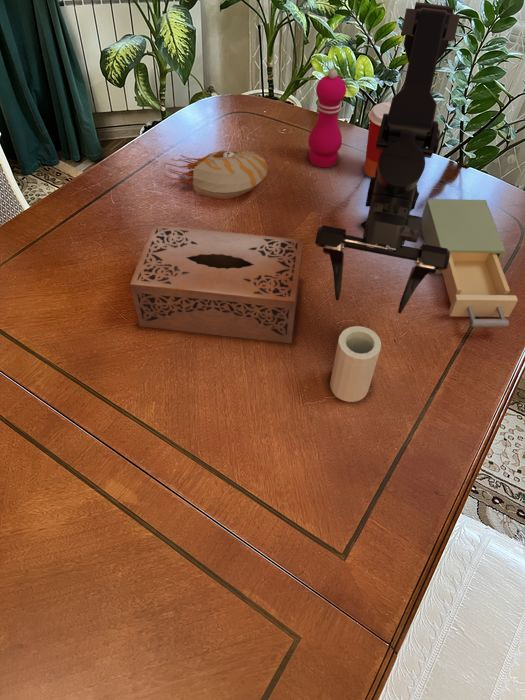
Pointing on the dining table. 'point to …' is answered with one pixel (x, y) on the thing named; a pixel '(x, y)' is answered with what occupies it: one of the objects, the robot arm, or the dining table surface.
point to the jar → (354, 363)
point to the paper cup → (374, 138)
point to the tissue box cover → (218, 283)
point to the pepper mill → (327, 121)
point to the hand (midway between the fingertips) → (367, 306)
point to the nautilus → (224, 173)
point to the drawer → (478, 289)
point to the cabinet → (461, 227)
